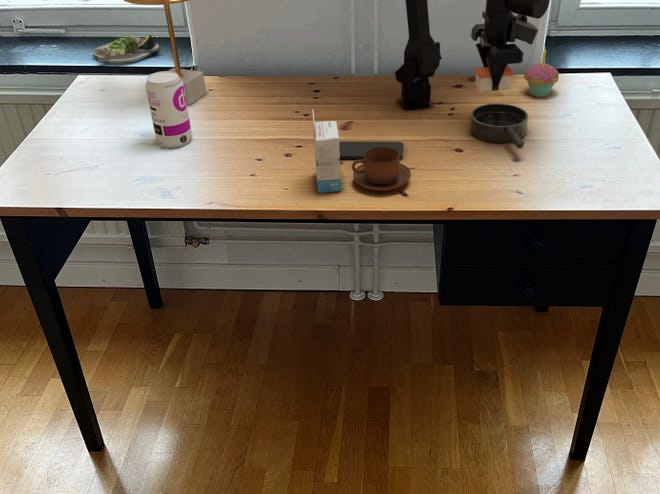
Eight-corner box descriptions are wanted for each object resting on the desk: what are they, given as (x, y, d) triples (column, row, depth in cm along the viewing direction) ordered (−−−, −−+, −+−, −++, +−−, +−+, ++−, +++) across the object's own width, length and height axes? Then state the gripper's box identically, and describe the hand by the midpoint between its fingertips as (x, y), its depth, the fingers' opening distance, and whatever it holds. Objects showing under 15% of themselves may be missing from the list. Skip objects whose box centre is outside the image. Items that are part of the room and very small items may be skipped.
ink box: (341, 192, 160) (339, 123, 150) (317, 193, 159) (313, 125, 150) (338, 172, 166) (336, 106, 156) (315, 174, 166) (311, 107, 156)
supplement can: (198, 135, 182) (188, 72, 172) (181, 151, 176) (169, 85, 166) (168, 131, 184) (156, 68, 174) (150, 146, 178) (136, 82, 169)
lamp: (125, 107, 196) (84, -73, 169) (170, 77, 210) (138, -93, 184) (197, 118, 189) (166, -67, 163) (237, 87, 204) (215, -88, 177)
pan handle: (503, 132, 173) (504, 125, 172) (511, 132, 173) (512, 124, 172) (517, 150, 166) (517, 143, 165) (524, 149, 166) (525, 142, 165)
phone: (337, 141, 176) (403, 141, 174) (337, 144, 176) (403, 144, 175) (334, 156, 170) (402, 156, 169) (334, 159, 171) (402, 160, 169)
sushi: (478, 92, 171) (480, 74, 169) (473, 85, 174) (475, 67, 172) (511, 89, 172) (513, 71, 169) (505, 82, 175) (507, 64, 173)
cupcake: (556, 100, 192) (563, 51, 184) (521, 99, 193) (527, 50, 185) (556, 87, 198) (563, 39, 190) (522, 85, 199) (528, 37, 192)
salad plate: (117, 73, 214) (114, 56, 211) (78, 59, 223) (74, 43, 220) (171, 52, 225) (168, 36, 222) (131, 40, 234) (128, 24, 231)
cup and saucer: (367, 201, 157) (367, 173, 153) (344, 175, 165) (343, 148, 161) (420, 188, 160) (421, 160, 156) (395, 164, 168) (395, 137, 164)
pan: (478, 146, 174) (480, 129, 171) (462, 122, 184) (463, 106, 181) (534, 140, 175) (536, 123, 173) (515, 117, 185) (517, 101, 182)
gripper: (551, 19, 156) (542, 95, 166) (522, -7, 170) (514, 65, 180) (498, 23, 155) (491, 100, 165) (472, -3, 169) (468, 69, 179)
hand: (493, 82), depth 173 cm, fingers closed on sushi, 4 cm apart
